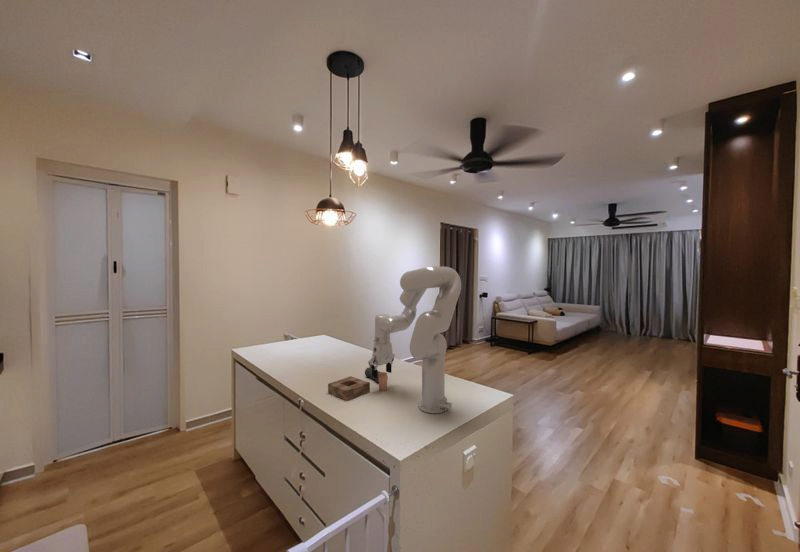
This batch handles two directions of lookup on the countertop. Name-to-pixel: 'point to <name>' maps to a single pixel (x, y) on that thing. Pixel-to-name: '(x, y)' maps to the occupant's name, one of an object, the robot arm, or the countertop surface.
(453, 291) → the robot arm
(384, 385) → the pin
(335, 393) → the walnut block
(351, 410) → the countertop surface
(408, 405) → the countertop surface
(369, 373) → the flashlight
